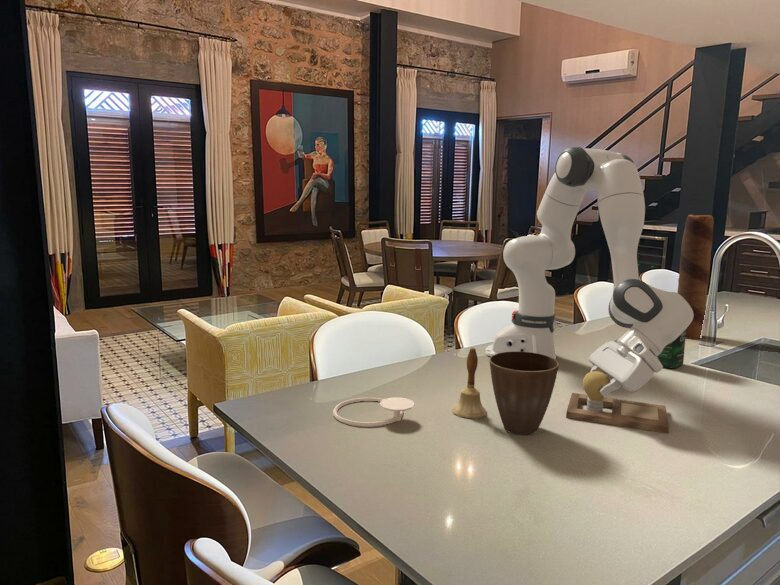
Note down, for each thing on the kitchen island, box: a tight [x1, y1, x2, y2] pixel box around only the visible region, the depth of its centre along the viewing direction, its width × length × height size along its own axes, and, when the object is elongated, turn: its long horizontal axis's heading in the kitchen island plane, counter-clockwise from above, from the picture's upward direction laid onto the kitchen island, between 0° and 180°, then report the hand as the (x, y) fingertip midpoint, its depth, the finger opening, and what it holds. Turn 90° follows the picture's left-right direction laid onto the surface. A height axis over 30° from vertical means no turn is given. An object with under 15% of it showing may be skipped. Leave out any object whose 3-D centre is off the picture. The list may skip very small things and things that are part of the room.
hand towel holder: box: [332, 396, 415, 428], centre depth 137 cm, size 17×4×21 cm
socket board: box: [565, 392, 670, 434], centre depth 139 cm, size 22×14×2 cm, turn 68°
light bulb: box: [582, 371, 611, 412], centre depth 140 cm, size 6×6×10 cm
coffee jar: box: [657, 328, 687, 369], centre depth 178 cm, size 10×8×19 cm
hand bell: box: [451, 347, 488, 419], centre depth 138 cm, size 8×8×16 cm
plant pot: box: [488, 352, 560, 436], centre depth 129 cm, size 15×15×16 cm
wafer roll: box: [676, 214, 715, 340], centre depth 211 cm, size 10×11×45 cm
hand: (593, 388), depth 140 cm, fingers closed on light bulb, 6 cm apart
